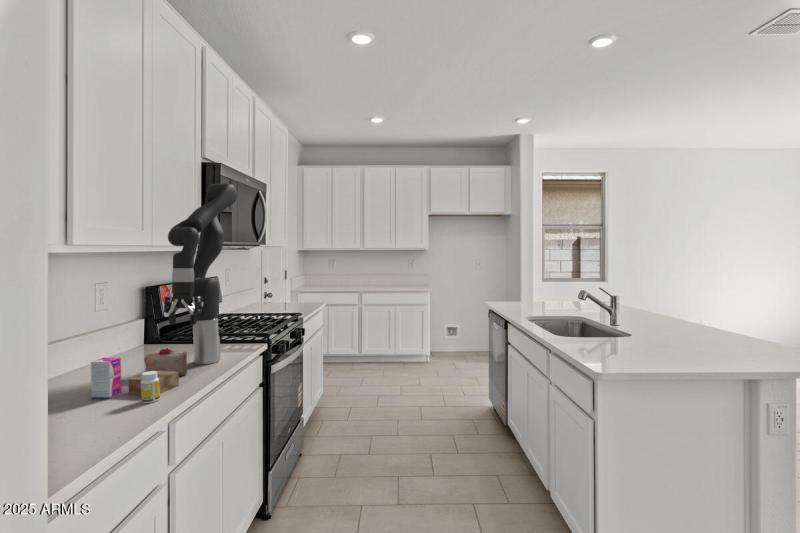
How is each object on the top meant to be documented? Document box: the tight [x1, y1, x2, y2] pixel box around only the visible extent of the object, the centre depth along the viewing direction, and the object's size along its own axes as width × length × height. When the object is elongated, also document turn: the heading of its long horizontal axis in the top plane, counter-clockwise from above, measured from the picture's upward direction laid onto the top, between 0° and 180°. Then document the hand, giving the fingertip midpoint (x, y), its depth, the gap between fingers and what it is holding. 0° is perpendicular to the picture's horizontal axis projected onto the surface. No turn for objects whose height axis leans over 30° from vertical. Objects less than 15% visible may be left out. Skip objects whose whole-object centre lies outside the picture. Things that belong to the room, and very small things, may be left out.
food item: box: [143, 347, 188, 377], centre depth 160 cm, size 14×8×10 cm, turn 107°
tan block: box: [127, 371, 180, 396], centre depth 144 cm, size 10×10×5 cm
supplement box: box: [90, 357, 122, 400], centre depth 138 cm, size 6×6×12 cm
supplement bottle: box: [140, 371, 161, 404], centre depth 133 cm, size 5×5×8 cm
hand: (182, 324), depth 166 cm, fingers open, 8 cm apart
